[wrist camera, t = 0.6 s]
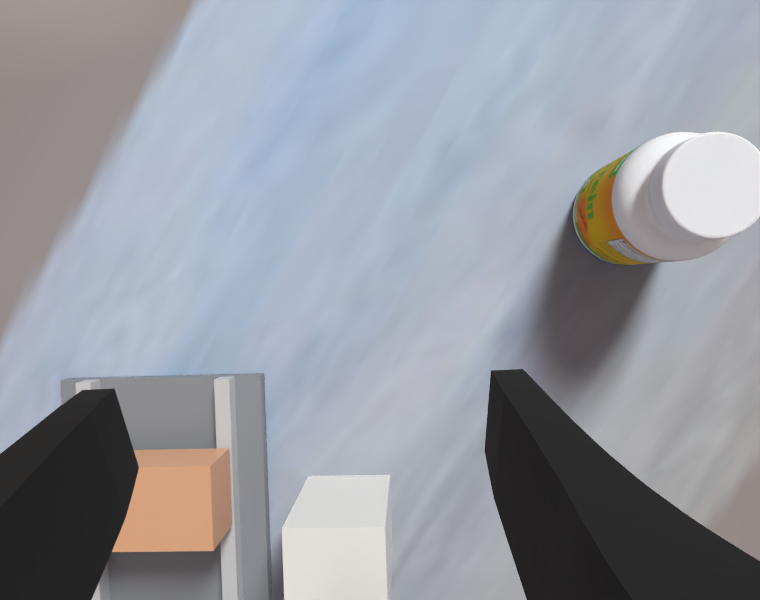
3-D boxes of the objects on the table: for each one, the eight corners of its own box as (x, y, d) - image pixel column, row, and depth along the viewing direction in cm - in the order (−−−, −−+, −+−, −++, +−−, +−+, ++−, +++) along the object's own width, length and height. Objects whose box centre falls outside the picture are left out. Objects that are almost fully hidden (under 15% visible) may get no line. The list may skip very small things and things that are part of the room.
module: (392, 555, 33) (388, 630, 26) (311, 556, 33) (285, 630, 26) (389, 474, 33) (385, 527, 26) (308, 476, 33) (281, 528, 26)
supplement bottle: (597, 147, 32) (681, 87, 22) (691, 188, 31) (817, 147, 22) (553, 240, 32) (617, 221, 22) (646, 281, 32) (751, 281, 22)
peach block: (232, 525, 31) (213, 551, 28) (77, 526, 31) (42, 552, 28) (229, 448, 31) (210, 466, 28) (74, 451, 31) (39, 468, 28)
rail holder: (277, 729, 33) (247, 831, 27) (85, 728, 34) (12, 828, 28) (263, 373, 33) (230, 394, 27) (69, 378, 33) (-9, 400, 27)
